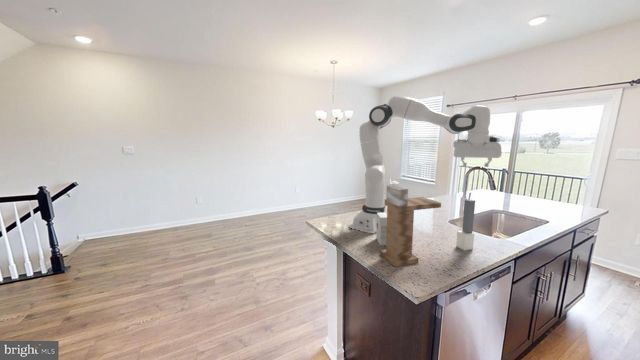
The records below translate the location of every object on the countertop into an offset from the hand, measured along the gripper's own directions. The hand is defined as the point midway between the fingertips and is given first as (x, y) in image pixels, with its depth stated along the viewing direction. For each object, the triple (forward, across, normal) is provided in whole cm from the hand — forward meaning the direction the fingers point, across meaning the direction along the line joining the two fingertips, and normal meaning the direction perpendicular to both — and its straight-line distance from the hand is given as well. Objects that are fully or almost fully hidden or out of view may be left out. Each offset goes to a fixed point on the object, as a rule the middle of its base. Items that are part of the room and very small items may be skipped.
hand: (475, 166), depth 123 cm
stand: (+39, -28, -33) cm, 58 cm away
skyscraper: (+40, -42, +18) cm, 60 cm away
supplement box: (+39, -40, -20) cm, 60 cm away
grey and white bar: (+27, -1, -11) cm, 29 cm away
